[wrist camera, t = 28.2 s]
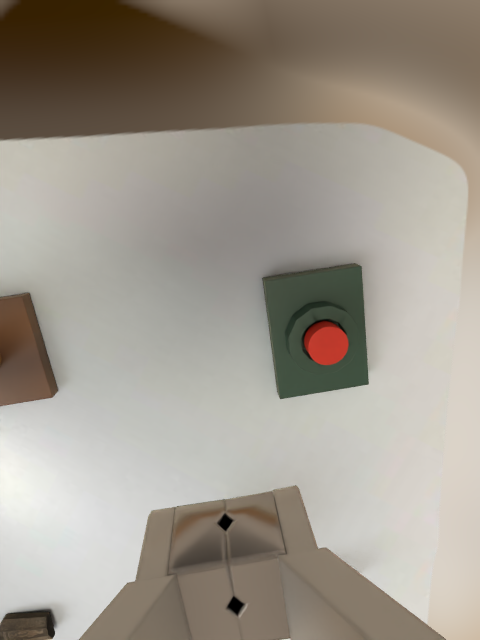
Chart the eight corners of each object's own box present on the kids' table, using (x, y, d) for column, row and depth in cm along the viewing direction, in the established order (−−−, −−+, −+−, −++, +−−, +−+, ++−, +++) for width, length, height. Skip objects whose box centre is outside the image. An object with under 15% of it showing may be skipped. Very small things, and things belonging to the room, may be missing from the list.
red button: (301, 324, 37) (306, 330, 35) (340, 318, 37) (347, 323, 35) (305, 360, 38) (310, 368, 36) (343, 354, 38) (350, 361, 36)
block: (58, 627, 48) (53, 643, 46) (8, 638, 48) (0, 654, 46) (49, 604, 47) (43, 619, 45) (-3, 615, 47) (-11, 630, 45)
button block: (262, 277, 39) (267, 284, 35) (355, 263, 39) (369, 268, 35) (277, 391, 42) (283, 407, 39) (362, 377, 42) (376, 392, 39)
